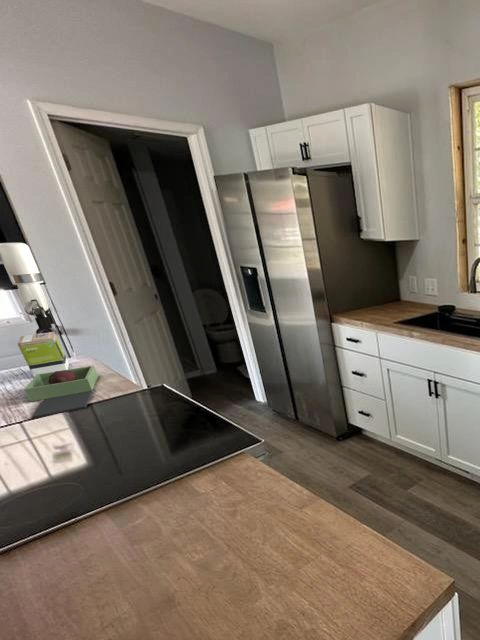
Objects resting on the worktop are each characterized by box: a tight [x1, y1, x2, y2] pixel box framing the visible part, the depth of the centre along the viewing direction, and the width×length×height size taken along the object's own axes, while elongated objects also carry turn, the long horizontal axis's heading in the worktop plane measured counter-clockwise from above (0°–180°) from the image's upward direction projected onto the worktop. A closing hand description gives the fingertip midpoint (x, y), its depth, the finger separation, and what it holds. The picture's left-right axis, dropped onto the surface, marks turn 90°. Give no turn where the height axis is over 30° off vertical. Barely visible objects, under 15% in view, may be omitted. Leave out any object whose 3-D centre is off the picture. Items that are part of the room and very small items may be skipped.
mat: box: [31, 390, 93, 419], centre depth 138 cm, size 12×18×1 cm, turn 39°
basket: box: [23, 365, 99, 402], centre depth 152 cm, size 16×20×4 cm
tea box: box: [17, 331, 70, 378], centre depth 168 cm, size 15×10×15 cm, turn 44°
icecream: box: [48, 370, 77, 384], centre depth 151 cm, size 7×7×15 cm
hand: (47, 326), depth 152 cm, fingers open, 9 cm apart
